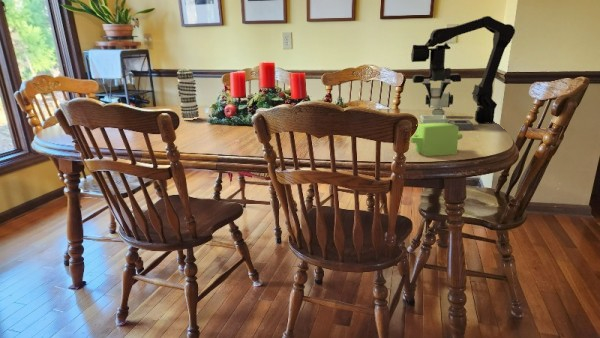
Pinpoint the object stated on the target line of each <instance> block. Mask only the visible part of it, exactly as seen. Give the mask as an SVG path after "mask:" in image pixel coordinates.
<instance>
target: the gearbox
mask: <svg viewBox="0 0 600 338" xmlns="http://www.w3.org/2000/svg"><path fill="white" fill-rule="evenodd" d="M417 124H418V128H417V130H415V134H413V136H412V137H411V139H410V141H409V142H410V143H412V144H415V150H414V151H416V152H418V153H419V154H421V155H423V156H429V157H431V156H447V155H449V156H450V155H456V154H458V153H457V152H458V144H459V143H458V142H459V140H462V139H463V137H464V135H463V133H461V132H459V130H458V129H459V127H458V126H457V125H453V124H449V122H448V123H425V124H421V123H417Z"/></svg>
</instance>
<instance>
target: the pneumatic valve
mask: <svg viewBox="0 0 600 338" xmlns="http://www.w3.org/2000/svg"><path fill="white" fill-rule="evenodd" d="M424 101H425V105H427V106H428V108H430V104H431V99H429V95H428V94H426V95H425V100H424ZM453 103H454V94H451V93H450V92H449V91H444V92H443V95H442V97H441V99H440V102H439V105H440V106H439V108H433V110H432V111H431V115H445V110H444V109H443V108H450V106H451V105H453Z"/></svg>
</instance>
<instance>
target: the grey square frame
mask: <svg viewBox="0 0 600 338" xmlns="http://www.w3.org/2000/svg"><path fill="white" fill-rule="evenodd" d="M448 123H449V124H453V125H457V126H458V127H459V129H458V131H473V130H474V123H473V122H472V121H471V120H470V119H448Z"/></svg>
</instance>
